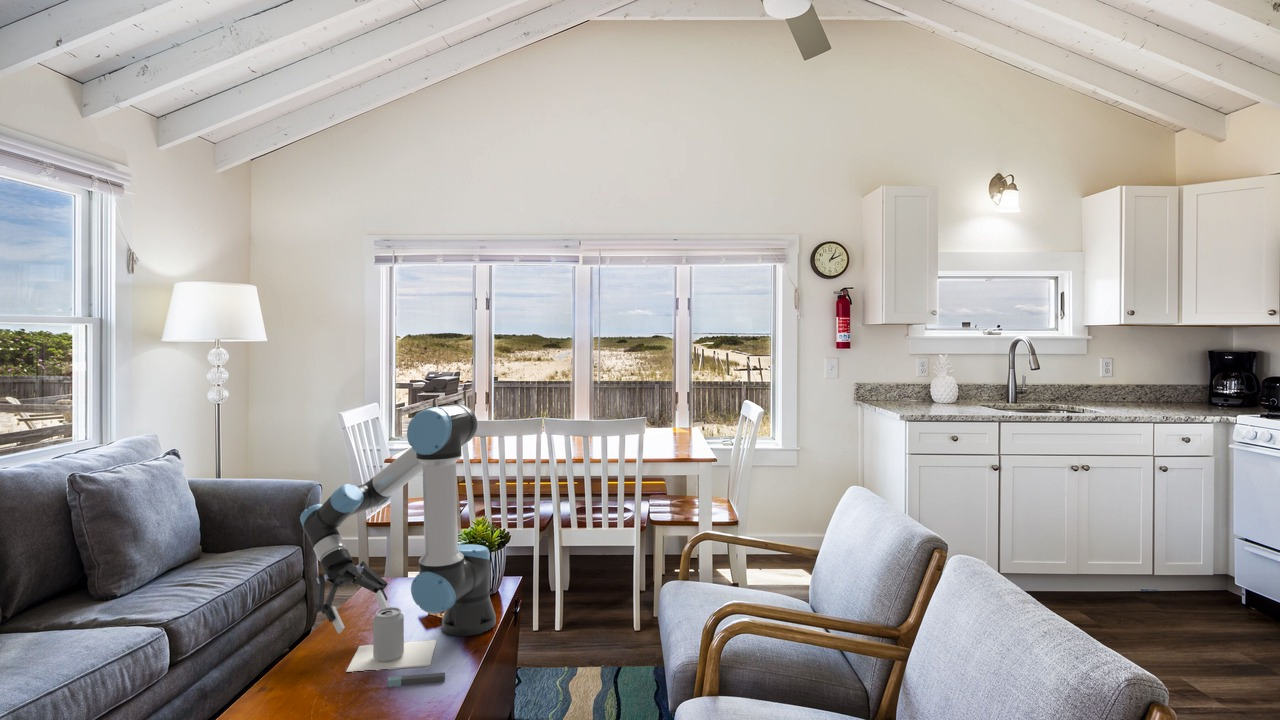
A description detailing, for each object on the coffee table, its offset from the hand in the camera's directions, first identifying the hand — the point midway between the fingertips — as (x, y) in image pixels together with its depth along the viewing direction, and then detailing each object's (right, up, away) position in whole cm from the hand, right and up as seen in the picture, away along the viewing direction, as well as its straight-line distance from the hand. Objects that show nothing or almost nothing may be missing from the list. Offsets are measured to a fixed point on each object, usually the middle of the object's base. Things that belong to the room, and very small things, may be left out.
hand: (365, 621), depth 177 cm
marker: (+20, -8, -18) cm, 28 cm away
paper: (+9, -7, -4) cm, 13 cm away
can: (+8, -7, -6) cm, 12 cm away
